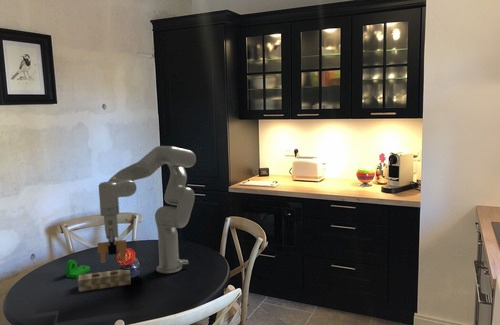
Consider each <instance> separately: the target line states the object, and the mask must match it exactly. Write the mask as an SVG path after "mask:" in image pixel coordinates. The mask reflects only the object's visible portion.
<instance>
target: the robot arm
mask: <svg viewBox="0 0 500 325" xmlns="http://www.w3.org/2000/svg"><path fill="white" fill-rule="evenodd" d="M196 163H197V157H196V154H195V152H193V151H192V150H190V149H186V148H180V147H177V146H174V145H173V146H172V145H159V146H155V147H153V149H152V150H150V151H149V152H148V153H147V154H145V155H144V156H143V157H142V158H141V159H140V160H138V161H136V162H135V163H133V164H130V165H129V166H127V167H125V168H122V169H120V170H119V171H118V172H116V173H115V174H114V175H112V177H110V178H109V179H108V181H104V182H103V181H101V182H100V183H99V184H98V196H99V197H98V198H99V210H100V211H99V212H100V216H101V217H103V224H104V233H105V238H106V239H107V240H108V241H107V242H108V243H109V245H108V252H107V253H108V255H109V256H110V255H117V253H118V252H117V251H116V245H115V241H116V239H118V238H119V222H118V215H120V206H119V204H120V203H119V202H120V201H119V198H124V197H125V198H127V197H131V196H133V195H134V194H135V193H136V192H137V187H138V186H137V184H136V182H135V181H137V180H141V179H142V180H143V179H146V178H149V177H151V176H152V175H154V173H155V172H156V171H157V170H159V168H161V167H162V166H163V165H167V166H168V168H169V172H170V174H169V180H168V183H167V186H166V189H165V193H164V198H163V199H164V201H165V203H166V204H169V205H172V206H168V205H165V206H160V207H159V208H157V210H156V211H155V213H154V219H155V220H154V221H155V225H156V228H157V240H158V261H159V265H158V266H156V272H157V273H160V274H172V273H173V274H174V273H177V272H180V271H181V270H182V269H183V265H189V260H188V259H181V258H180V255H179V239H178V238H179V237H178V236H179V234H178V230H177V229H182V228H185V227H186V225H187V224H188V223H189V220H190V218H191V213H192V210H193V208H194V203H195V198H196V197H195V196H196V195H195V192H194V190H193V188H191V187H188V186H186V185H187V180H188V175H187V172H186V169H187V168H191V167H193V166H195V164H196ZM185 168H186V169H185ZM174 206H176V207H174Z"/></svg>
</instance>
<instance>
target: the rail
mask: <svg viewBox="0 0 500 325" xmlns="http://www.w3.org/2000/svg"><path fill="white" fill-rule="evenodd" d="M123 269H124V268H123ZM123 269H115V270H108V271H100V272H93V273H85V274H83V275H79V278H77V282H78V292H85V291H93V290H100V289H107V288H114V287H120V286H127V285H128V286H129V285H132V281H131V280H132V277H131V269H130V270H123Z"/></svg>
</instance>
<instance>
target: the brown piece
mask: <svg viewBox="0 0 500 325" xmlns="http://www.w3.org/2000/svg"><path fill="white" fill-rule="evenodd" d="M96 245H97V254H100V256H99V257H100V264H105V263H107V262H106V253H109V252H108V245H109V243H108V241H105V242H98V243H97V244H96ZM115 245H116V251H118V252H119V255H120V261H126V253H125V251H126V250H127V249H128V248H127V239H123V240H121V239H120V240H115Z"/></svg>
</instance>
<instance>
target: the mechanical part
mask: <svg viewBox="0 0 500 325" xmlns="http://www.w3.org/2000/svg"><path fill="white" fill-rule="evenodd" d="M90 270H91V267H90V266H89V265H80V266H78V264H77V260H75V259H69V260H68V261H67V262H66V264H65V273H66V278H70V279H71V278H72V279H79V275H84V274H87V272H89V271H90Z"/></svg>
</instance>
